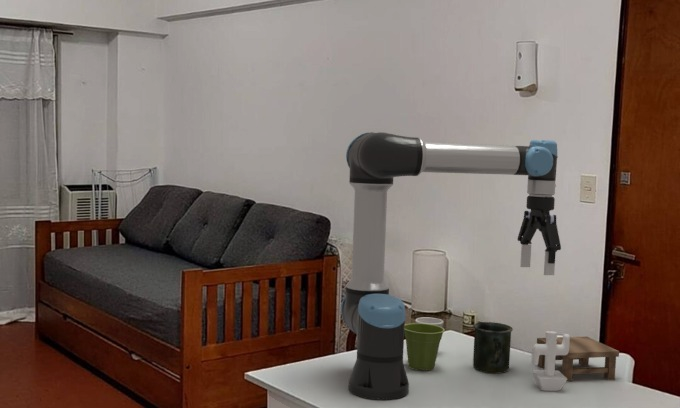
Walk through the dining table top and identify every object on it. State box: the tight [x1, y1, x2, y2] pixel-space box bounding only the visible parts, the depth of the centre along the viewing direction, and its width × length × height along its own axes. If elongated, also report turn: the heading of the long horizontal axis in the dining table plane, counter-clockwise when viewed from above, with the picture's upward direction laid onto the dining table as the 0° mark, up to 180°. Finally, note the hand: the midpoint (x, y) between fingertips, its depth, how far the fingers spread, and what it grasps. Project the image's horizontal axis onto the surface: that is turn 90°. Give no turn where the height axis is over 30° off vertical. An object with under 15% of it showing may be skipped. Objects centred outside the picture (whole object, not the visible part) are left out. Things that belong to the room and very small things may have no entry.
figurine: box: [531, 330, 571, 392], centre depth 197 cm, size 7×9×15 cm
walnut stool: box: [536, 336, 620, 383], centre depth 213 cm, size 16×16×8 cm
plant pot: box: [404, 322, 446, 372], centre depth 212 cm, size 12×12×11 cm
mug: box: [472, 321, 514, 374], centre depth 212 cm, size 11×15×12 cm
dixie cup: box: [415, 316, 444, 328], centre depth 227 cm, size 8×8×10 cm
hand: (536, 271), depth 213 cm, fingers open, 13 cm apart
